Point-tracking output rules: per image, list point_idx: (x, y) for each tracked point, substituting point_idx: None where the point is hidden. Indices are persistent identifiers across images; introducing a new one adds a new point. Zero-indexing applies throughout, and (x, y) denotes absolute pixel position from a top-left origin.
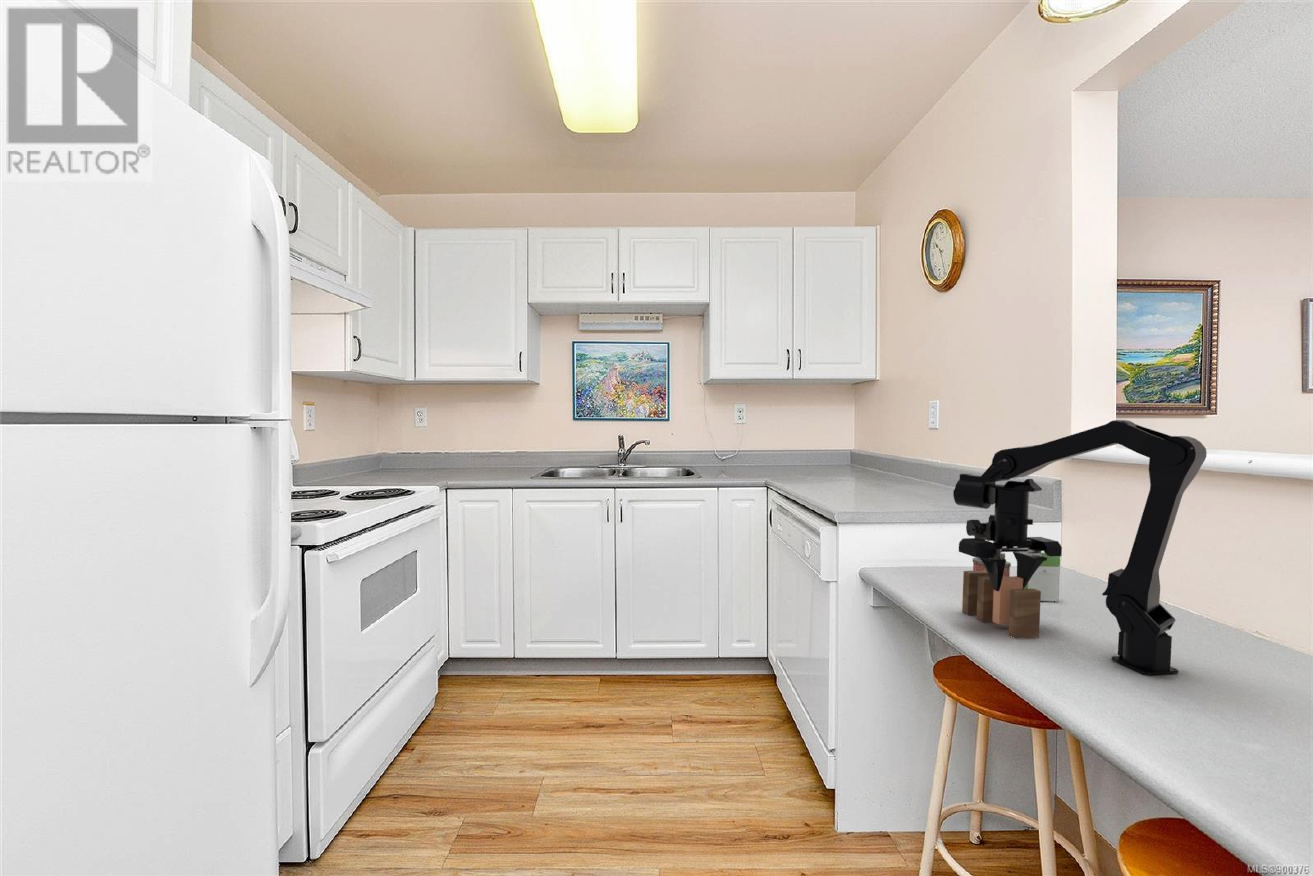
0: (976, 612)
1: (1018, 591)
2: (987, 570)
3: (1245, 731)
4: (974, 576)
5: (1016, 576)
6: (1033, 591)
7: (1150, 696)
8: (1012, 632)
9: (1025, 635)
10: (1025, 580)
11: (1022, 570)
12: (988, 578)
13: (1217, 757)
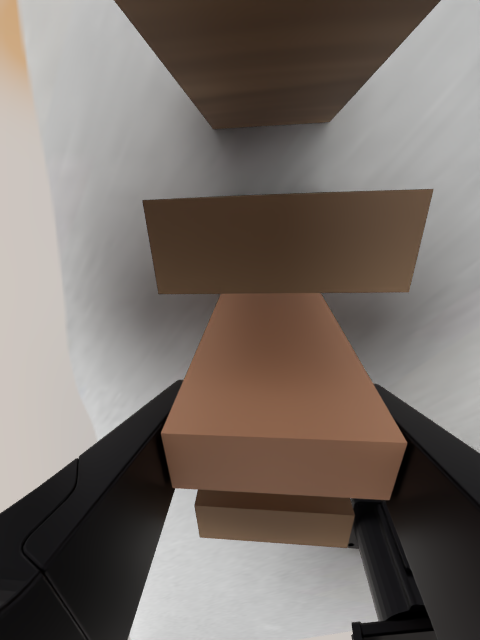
0: (259, 123)
1: (212, 533)
2: (51, 487)
3: (296, 617)
4: (205, 9)
5: (400, 448)
6: (299, 544)
7: (271, 569)
8: None
9: None
10: (387, 501)
11: (453, 570)
12: (214, 278)
13: (209, 626)
